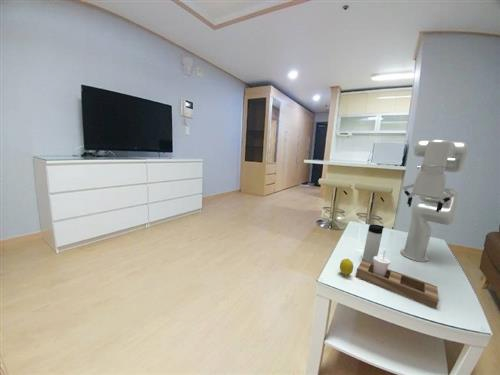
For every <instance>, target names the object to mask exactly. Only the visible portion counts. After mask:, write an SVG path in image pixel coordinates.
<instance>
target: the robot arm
mask: <svg viewBox="0 0 500 375" xmlns="http://www.w3.org/2000/svg"><path fill="white" fill-rule="evenodd" d="M468 152H469V146H468V144H467V143H466V142H464V141H453V140H452V141H450V140H446V139H430V140H418V141H417V142H416V143H415V145H414V146H413V154H414V156H415V157H416V158H417V157H418V158H422V161H421V165H417V167H416V169H418V170H420V171H417V174H416V176H415V179H414V183H413V184H407V185H404V186H403V187H402V188H403V189H402V190H403V192H404V194H405V195H406V196H407V197H408V198H407V202H406V204H407V205H408V208H411V217H410V218H411V220H410V223H409V224H410V225H409V229H408V232H407V236H406V240H405V241H406V242H405V245H404V249H400V254H401V255H402V256H404V258H407V259H410V260H412V261H415V262H420V263H426V262H428V261H429V258H428V256H426V254H427V249H428V246H429V242H430V239H431V234H432V227H431V224H430V223H429V222H432V223H435V224H440V225H444V226H447V225H451V224H453V222H454V219H455V216H456V211H457V206H458V202H459V192H458V190H456V189H454V188H448V187H446V180H447V174H444V173H445V172H447V173H459V172H462V170H463V169H464V168H463V167H464V165H465V162H466V159H467V156H468ZM411 188H412V192H411V193H410V192H409V191H408V189H411ZM414 196H419V200H420V201H417V202H415V203H413V205H412V202H413V197H414ZM411 205H412V207H411Z"/></svg>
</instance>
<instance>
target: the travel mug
mask: <svg viewBox="0 0 500 375" xmlns="http://www.w3.org/2000/svg"><path fill="white" fill-rule="evenodd" d="M384 228H385V226H384V225H380V224H373V223H371V224H369V225H368V228H367V234H366V239H365V244H364V249H363V255H362V259H361V261H362V260H364V261H367V262H370V263H373V264H374V260H373V258H374V256H379V250H380V246H381V241H382V236H383V232H384V231H383V230H384Z"/></svg>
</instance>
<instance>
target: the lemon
mask: <svg viewBox="0 0 500 375" xmlns="http://www.w3.org/2000/svg"><path fill="white" fill-rule="evenodd" d="M339 270H340V271H341V273H342V274H343V275H344V276H347V275H348V276H349V275H350V274H352V273H353V270H354V263H353V261H352V260H350V259H349V258H343V259H342V260H341V262H340V264H339Z"/></svg>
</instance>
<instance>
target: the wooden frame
mask: <svg viewBox="0 0 500 375" xmlns="http://www.w3.org/2000/svg"><path fill="white" fill-rule="evenodd" d="M373 270H374V264H373V263H370V262H367V261H364V260H362V259H361V261H360V263H359V265H358V266H357V268H356V272H355V278H357V279H360V280H363V281H365V282H368V283H369V284H373V285H375V286H376V287H380V288H382V289H385V290H388V291H390V292H391V293H392V292H393V293H395V294H397V295H398V296H399V295H400V296H402V297H405V298H406V299H407V298H408V299H409V300H412V301H414V302H417V303H420V304H422V305H424V306H428V307H430V308H432V309H435V310H437V307H438V304H439V301H440V300H439V290H438V285H435V284H432V283H428V282H426V281H423V280H421V279H418V278H415V277H413V276H412V277H411V276H409V275H406V274H404V273H400V272H397V271H395V270H392V269H389V268H387V270H386V273H385V276H384V277H382V276H379V275H376V274H374V273H373Z"/></svg>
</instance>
